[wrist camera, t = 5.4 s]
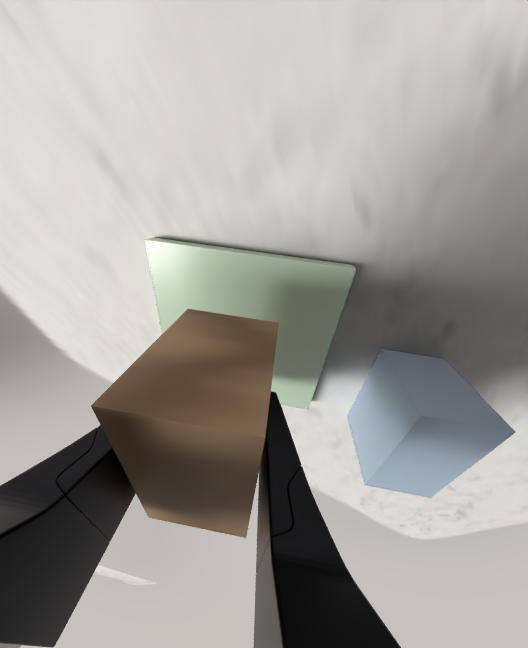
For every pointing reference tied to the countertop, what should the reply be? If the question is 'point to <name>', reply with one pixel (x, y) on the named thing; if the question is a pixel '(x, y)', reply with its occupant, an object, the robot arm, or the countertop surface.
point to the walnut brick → (195, 419)
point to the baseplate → (257, 301)
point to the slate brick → (420, 424)
